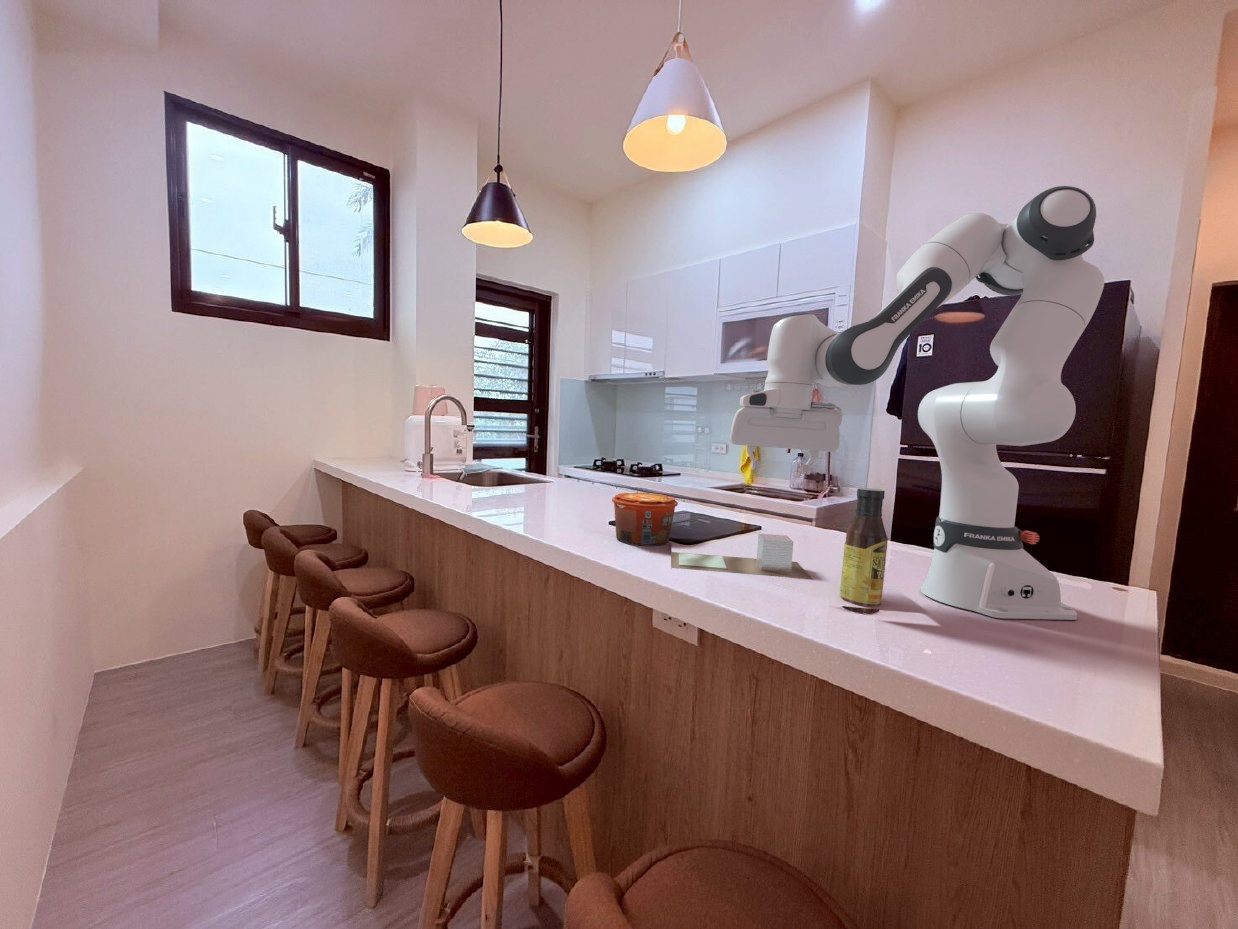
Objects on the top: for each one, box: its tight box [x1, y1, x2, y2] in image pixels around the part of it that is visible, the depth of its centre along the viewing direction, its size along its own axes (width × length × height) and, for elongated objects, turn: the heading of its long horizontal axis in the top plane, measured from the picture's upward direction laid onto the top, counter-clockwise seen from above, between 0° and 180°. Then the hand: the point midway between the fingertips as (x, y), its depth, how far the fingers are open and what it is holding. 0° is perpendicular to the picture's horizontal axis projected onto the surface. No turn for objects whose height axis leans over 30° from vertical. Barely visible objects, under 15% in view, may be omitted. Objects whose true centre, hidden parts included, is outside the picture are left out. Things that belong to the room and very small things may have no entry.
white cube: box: [756, 533, 794, 573], centre depth 102 cm, size 6×6×6 cm
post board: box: [670, 551, 813, 580], centre depth 102 cm, size 26×12×6 cm, turn 84°
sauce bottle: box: [839, 487, 888, 615], centre depth 84 cm, size 6×6×20 cm
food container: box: [611, 492, 679, 547], centre depth 126 cm, size 16×16×11 cm
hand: (780, 471), depth 100 cm, fingers open, 8 cm apart
